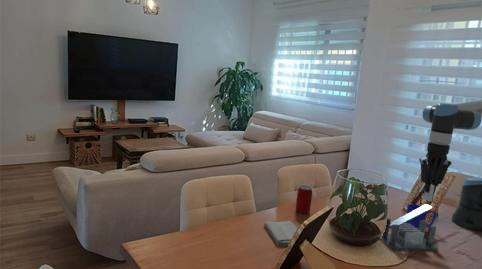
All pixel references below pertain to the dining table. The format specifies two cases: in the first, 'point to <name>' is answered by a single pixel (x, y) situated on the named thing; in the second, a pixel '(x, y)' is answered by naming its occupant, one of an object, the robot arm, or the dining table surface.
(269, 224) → the washcloth
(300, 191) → the beverage can
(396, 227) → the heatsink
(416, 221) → the mug
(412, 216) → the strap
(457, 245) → the dining table surface
